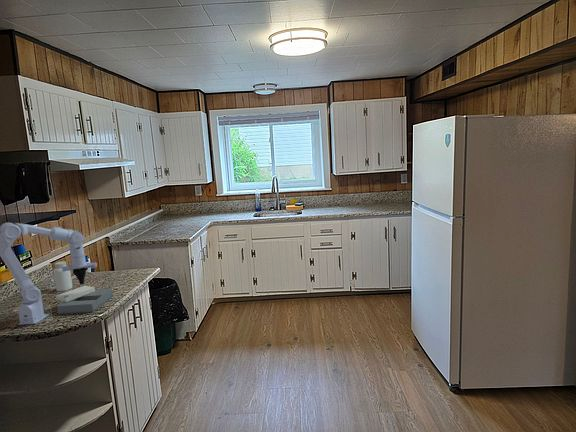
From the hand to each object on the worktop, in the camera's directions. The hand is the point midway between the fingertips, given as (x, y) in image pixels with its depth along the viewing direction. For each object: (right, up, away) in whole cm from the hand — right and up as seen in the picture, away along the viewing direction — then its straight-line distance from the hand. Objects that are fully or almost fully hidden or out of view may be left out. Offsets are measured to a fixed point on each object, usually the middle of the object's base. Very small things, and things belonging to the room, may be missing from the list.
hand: (82, 283), depth 185 cm
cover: (-4, -6, +3) cm, 8 cm away
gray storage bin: (+2, -10, +1) cm, 10 cm away
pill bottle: (-24, -8, +27) cm, 37 cm away
